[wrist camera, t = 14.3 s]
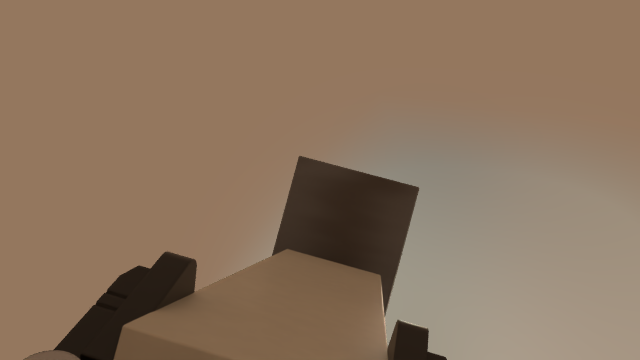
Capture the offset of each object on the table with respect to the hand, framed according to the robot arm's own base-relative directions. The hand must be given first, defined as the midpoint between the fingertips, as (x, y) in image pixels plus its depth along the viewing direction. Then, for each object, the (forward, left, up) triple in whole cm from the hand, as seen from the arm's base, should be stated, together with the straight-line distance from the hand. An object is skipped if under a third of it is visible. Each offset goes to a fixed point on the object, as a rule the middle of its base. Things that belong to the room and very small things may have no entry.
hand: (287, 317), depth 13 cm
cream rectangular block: (0, +6, -3) cm, 6 cm away
